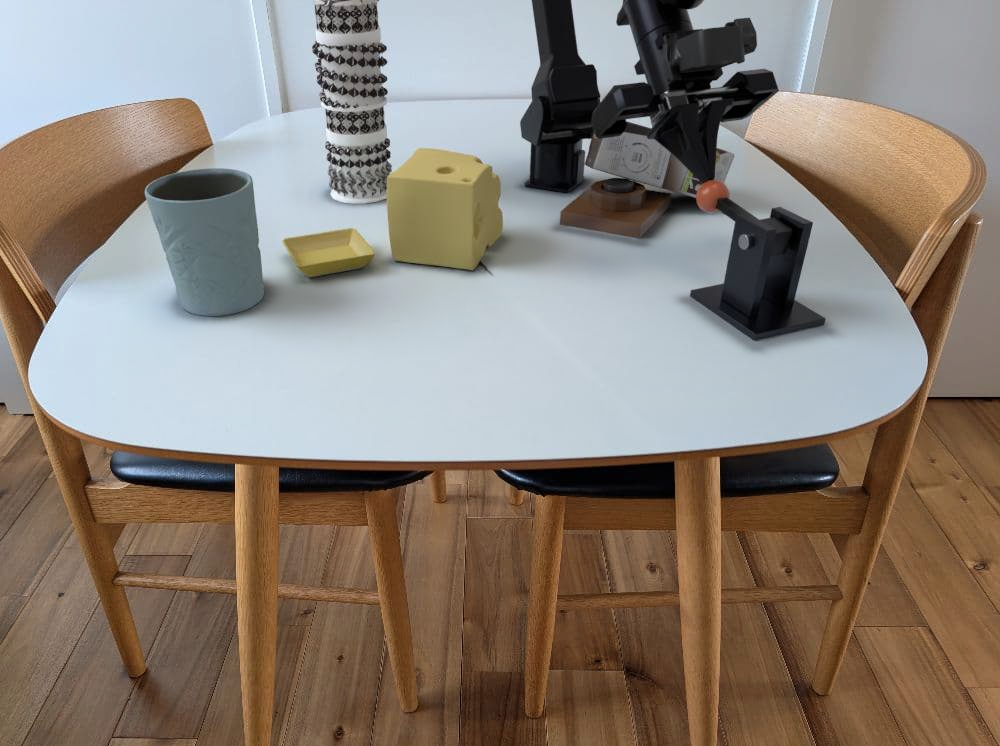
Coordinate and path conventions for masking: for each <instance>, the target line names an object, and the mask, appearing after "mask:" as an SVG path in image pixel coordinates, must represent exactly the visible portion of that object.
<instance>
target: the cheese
mask: <svg viewBox="0 0 1000 746" xmlns="http://www.w3.org/2000/svg"><path fill="white" fill-rule="evenodd" d="M501 190H502V187H501V179H500V176H499V174H497V173H494V172H493V166H492V165H490V164H486V163H483V161H482V159H480V158H479V157H478V156H476V155H473V154H472V155H471V154H467V153H461V152H456V151H450V150H445V149H439V148H429V147H427V148H425V147H420V148H417V149H416V150H415V151H414V153H412V155H411V156H410V157H409V158H408V159H407V160H406V161H405V162H404V163H403V164H402V165H400V166H399V167H398V168H397V169H395V170H394V171H392V172H391V173H390V175H388V177H387V198H386V210H387V211H386V212H387V227H388V237H389V244H390V245H389V246H390V250H391V256H392V260H393V261H394V262H395V261H396V262H403V263H411V264H420V265H428V266H437V267H445V268H453V269H460V270H468V271H474V270H476V268H477V267H478V265H479V264H480V263H481V260H482V258H484V257H483V256H484V255H485V254H486V249H487V247H491V246H493V245H494V243H496V242H497V240H498V239H499V238H501V236H502V234H503V228H504V217H503V211H502V209H501V208H500V207H499V201H500V198H501V192H502V191H501Z"/></svg>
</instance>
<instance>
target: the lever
mask: <svg viewBox="0 0 1000 746" xmlns="http://www.w3.org/2000/svg"><path fill="white" fill-rule="evenodd" d="M695 201H696V205H697V206H698V208H699V209H700V210H701V211H703V212H705V213H708V214H715V213H718V212H721V213H722V214H723V215H725V216H726V217H727V218H728V219H730V220H732V221H733V222H735V220H736V215H737V214H743V213H746V214H748V215H750V216H752V217H753V218H755V219H757V220H759V221H761V222H763V223H765V224H767V225H769V226H771V227H773V228H775V229H776V234H775V239H774V244H773V248H772V253H771V256H776V255H781V254H786V252H787V249H788V246H789V242H790V239H791V236H792V233H793V230H792V229H791V228H789V227H788V226H786V225H785V224H783V223H782V222H780V221H779V220H777V219H776V218H774V217H772V218H770V217H767V218H761V219H760V218H758V217H756V216H755V215H753V214H752V213H751V212H749V211H747V210H746V209H745V208H743V207H742V206H740V205H739V204H737V203H736V202H734V201H733V200H732V199H730V190H729V187H728V186H727V185H726V183H725V182H724V183H723V182H721V181H719V180H709V181H707V182H705V183H703V184H702V185H701V186H700V187H699V189H698V191H697V193H696V198H695Z"/></svg>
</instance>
